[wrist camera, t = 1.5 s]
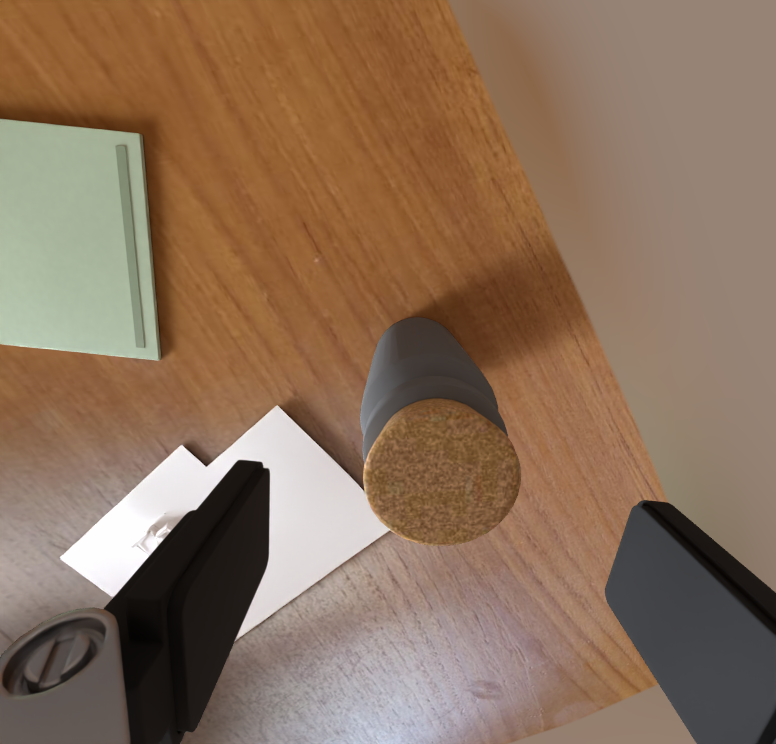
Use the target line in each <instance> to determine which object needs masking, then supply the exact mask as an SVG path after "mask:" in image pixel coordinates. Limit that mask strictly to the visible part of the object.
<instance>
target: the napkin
mask: <svg viewBox="0 0 776 744" xmlns="http://www.w3.org/2000/svg"><path fill="white" fill-rule="evenodd" d="M0 344H5V345H15V346H24V347H34V348H44V349H53V350H63V351H73V352H82V353H92V354H102V355H111V356H121V357H131V358H140V359H150V360H161V350H160V338H159V326H158V314H157V302H156V290H155V278H154V266H153V254H152V242H151V230H150V218H149V206H148V194H147V182H146V170H145V158H144V146H143V135H141V134H139V133H131V132H121V131H112V130H102V129H93V128H83V127H73V126H64V125H54V124H45V123H35V122H26V121H16V120H7V119H0Z"/></svg>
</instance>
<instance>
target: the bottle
mask: <svg viewBox="0 0 776 744" xmlns="http://www.w3.org/2000/svg"><path fill="white" fill-rule="evenodd" d="M360 421H361V429H362V433H363V436H364V439H363V459H364V463H365V466H364V472H363V481H364V491H365V494H366V497H367V500H368V503H369V505H370V507H371V509H372V511H373V512H374V514H375V515H376V516H377V518H378V519H379V520H380V522H382V523H383V524H384V525H385V526H386V527H387V528H389V529H390V530H391V531H392V532H394V533H395V534H397V535H399V536H401V537H402V538H405V539H407V540H409V541H412V542H416V543H419V544H424V545H430V546H450V545H456V544H462V543H465V542H469V541H471V540H474V539H476V538H478V537H480V536H482V535H484V534H486V533H488V532H489V531H490V530H492V529H493V528H494V527H496V526H497V525H498V524H499V523H500V522H501V521H502V520H503V519H504V518H505V517H506V516H507V514H508V513H509V511H510V510H511V508H512V507H513V505H514V503H515V500H516V498H517V496H518V492H519V487H520V482H521V469H520V463H519V459H518V456H517V454H516V451H515V449H514V447H513V445H512V443H511V441H510V440H509V438H508V434H507V430H506V427H505V424H504V422H503V420H502V418H501V416H500V414H499V412H498V405H497V401H496V398H495V395H494V392H493V390H492V388H491V386H490V384H489V383H488V381H487V379H486V378H485V377H484V375H483V374H482V372H481V371H480V369H479V368H478V367H477V366H476V364H475V363H474V362H473V360H472V359H471V358H470V357H469V355H468V354H467V353H466V352H465V350H464V349H463V348H462V346H461V345H460V344H459V343H458V341H457V340H456V339H455V338H454V337H453V335H452V334H451V333H450V332H449V331H448V330H447V329H446V328H445V327H444V326H442V325H441V324H439V323H438V322H436V321H433V320H431V319H427V318H420V317H416V318H407V319H404V320H401V321H399V322H397V323H395V324H394V325H392V326H391V327H390V328H389V329H388V330H387V331H386V332H385V333H384V334H383V335H382V337H381V338H380V340H379V342H378V344H377V347H376V350H375V354H374V357H373V360H372V364H371V368H370V372H369V376H368V380H367V384H366V387H365V391H364V396H363V401H362V406H361V413H360Z"/></svg>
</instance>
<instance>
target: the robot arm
mask: <svg viewBox="0 0 776 744" xmlns="http://www.w3.org/2000/svg"><path fill="white" fill-rule="evenodd" d="M269 518H270V470H269V468H264V467H263V463H262V462H259V461H249V460H238V461H237V462H236V463H235V464H234V465H233V466H232V468H231V469H230V470H229V471H228V472H227V474H226V475H225V476H224V477H223V478H222V479H221V481H220V482H219V483H218V484H217V485H216V487H215V488H214V489H213V490H212V491H211V493H210V494H209V495H208V496H207V497H206V499H205V500H204V501H203V502H202V503H201V505H200V506H199V507H198V508H197V509H196V510H192V511H189V512H188V513H187V514H186V515H184V516H183V518H182V519H181V520H180V521H179V522H178V523H177V525H176V526H175V527H174V528H173V529H172V530H171V532H170V533H169V534H168V535H167V536H166V537H165V538H164V540H163V541H162V542H161V543H160V544H159V545H158V547H157V548H156V549H155V550H154V551H153V552H152V553H151V555H150V556H149V557H148V558H147V559H146V560H145V562H144V563H143V564H142V565H141V566H140V567H139V569H138V570H137V571H136V572H135V573H134V574H133V575H132V577H131V578H130V579H129V580H128V581H127V582H126V584H125V585H124V586H123V587H122V588H121V589H120V590H119V592H118V593H117V594H116V595H115V596H114V597H113V599H112V600H111V601H110V602H109V603H108V604H107V606H106V607H105V608H104V609H99V608H83V609H76V610H73V611H69V612H66V613H63V614H59V615H57V616H55V617H53V618H51V619H49V620H47V621H45V622H42V623H40V624H39V625H37V626H36V627H34V628H33V629H31V630H30V631H28V632H27V633H25V634H24V635H22V636H21V637H20V638H19V639H18V640H16V641H15V642H14V643H13V644H12V645H11V646H10V647H9V648H8V649H6V650H5V651H4V653H3V654H2V655H1V657H0V744H180V743H181V741H182V739H183V736H184V734H185V732H193V731H194V730H195V729H196V728H197V726H198V724H199V722H200V720H201V718H202V715H203V713H204V711H205V708H206V706H207V704H208V702H209V699H210V697H211V695H212V692H213V690H214V688H215V685H216V683H217V681H218V679H219V676H220V674H221V672H222V669H223V667H224V665H225V662H226V660H227V658H228V656H229V653H230V651H231V649H232V646H233V644H234V642H235V640H236V637H237V635H238V633H239V630H240V628H241V626H242V623H243V621H244V619H245V617H246V614H247V612H248V610H249V607H250V605H251V603H252V600H253V598H254V596H255V594H256V591H257V589H258V587H259V584H260V582H261V580H262V578H263V575H264V573H265V570H266V568H267V564H268V559H269ZM605 596H606V600H607V603H608V604H609V606H610V608H611V609H612V611H613V613H614V614H615V616H616V617H617V619H618V620H619V622H620V624H621V625H622V627H623V628H624V630H625V631H626V633H627V635H628V636H629V638H630V639H631V641H632V642H633V644H634V646H635V647H636V649H637V650H638V652H639V653H640V655H641V657H642V658H643V660H644V661H645V663H646V664H647V666H648V668H649V669H650V671H651V672H652V674H653V675H654V677H655V679H656V680H657V682H658V683H659V685H660V687H661V688H662V690H663V691H664V693H665V694H666V696H667V697H668V699H669V701H670V702H671V704H672V705H673V707H674V709H675V710H676V711H677V713H678V715H679V716H680V718H681V719H682V721H683V723H684V724H685V726H686V727H687V729H688V730H689V732H690V734H691V735H692V737H693V738H694V740H695V741H696V743H697V744H776V593H775V592H774V591H773V590H772V589H771V588H769V587H768V586H767V585H766V584H765V583H764V582H762V581H761V580H760V579H759V578H758V577H756V576H755V575H754V574H753V573H752V572H751V571H749V570H748V569H747V568H746V567H745V566H743V565H742V564H741V563H740V562H739V561H738V560H736V559H735V558H734V557H733V556H731V554H729V553H728V552H727V551H726V550H725V549H723V548H722V547H721V546H720V545H719V544H717V543H716V542H715V541H714V540H713V539H712V538H711V537H709V536H708V535H707V534H706V533H704V532H703V531H702V530H701V529H700V528H699V527H698V526H696V525H695V524H694V523H693V522H692V521H690V520H689V519H688V518H687V517H686V516H685V515H683V514H682V513H681V512H680V511H679V510H678V509H676V508H675V507H674V506H673V505H671V504H670V503H666V502H657V501H647V500H643V501H640V502H639V503H638V505H636V506H634V507H633V508H632V510H631V512H630V515H629V518H628V521H627V524H626V527H625V530H624V533H623V536H622V539H621V542H620V545H619V548H618V551H617V554H616V557H615V560H614V563H613V566H612V569H611V572H610V575H609V578H608V581H607V584H606V588H605Z"/></svg>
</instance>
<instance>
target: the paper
mask: <svg viewBox="0 0 776 744" xmlns="http://www.w3.org/2000/svg"><path fill="white" fill-rule="evenodd" d="M238 460H249V461H259V462H262V463H263V467H264V468H269V470H270V518H269V559H268V564H267V568H266V570H265V573H264V575H263V578H262V580H261V582H260V584H259V587H258V589H257V591H256V594H255V596H254V598H253V600H252V603H251V605H250V607H249V610H248V612H247V614H246V617H245V619H244V621H243V623H242V626H241V628H240V630H239V633H238V635H237V637H236V640H237V639H238V638H240V637H241V636H242V635H244V634H245V633H247V632H248V631H249V630H251V629H252V628H253V627H255V626H256V625H258V624H259V623H260V622H262V621H263V620H265V619H266V618H267V617H269V616H270V615H271V614H273V613H274V612H276V611H277V610H278V609H280V608H281V607H283V606H284V605H285V604H287V603H288V602H289V601H291V600H292V599H294V598H295V597H296V596H298V595H299V594H301V593H302V592H303V591H305V590H306V589H308V588H309V587H310V586H312V585H313V584H315V583H316V582H317V581H319V580H320V579H322V578H323V577H324V576H326V575H327V574H328V573H330V572H331V571H333V570H334V569H335V568H337V567H338V566H340V565H341V564H342V563H344V562H345V561H347V560H348V559H349V558H351V557H352V556H354V555H355V554H356V553H358V552H359V551H361V550H362V549H364V548H365V547H366V546H368V545H369V544H371V543H372V542H373V541H375V540H376V539H378V538H379V537H381V536H382V535H383V534H385V533H386V532H388V531H389V530H390V529H389V528H387V527H386V526H385V525H384V524H383V523H382V522H380V520H379V519H378V518H377V516H376V515H375V514H374V512H373V511H372V509H371V507H370V505H369V503H368V500H367V497H366V494H365V492H364V491H363V489H362V488H361V487H360V486H359V485H358V484H357V483H356V482H355V481H354V480H353V479H352V478H351V477H350V476H349V475H348V474H347V473H346V472H345V471H344V470H343V469H342V468H341V467H340V466H339V465H338V464H337V463H336V462H335V461H334V460H333V459H332V458H331V457H330V456H329V455H328V454H327V453H326V452H325V451H324V450H323V449H322V448H321V447H320V446H319V445H318V444H317V443H316V442H314V441H313V440H312V439H311V438H310V437H309V436H308V435H307V434H306V433H305V432H304V431H303V430H302V429H301V428H300V427H299V426H298V425H297V424H296V423H295V422H294V421H293V420H292V419H291V418H290V417H289V416H288V415H287V414H286V413H285V412H284V411H283V410H282V409H281V408H280V407H278V406H277V405H276V406H275V407H274V408H273V409H272V410H271V411H270V412H269V413H267V414H266V415H265V416H264V417H263V418H262V419H261V420H260V421H259V422H257V423H256V424H255V425H254V426H253V427H252V428H251V429H250V430H248V431H247V432H246V433H245V434H244V435H243V436H242V437H240V438H239V439H238V440H237V441H236V442H235V443H234V444H232V445H231V446H230V447H229V448H228V449H227V450H226V451H224V452H223V453H222V454H221V455H220V456H219V457H217V458H216V459H215V460H214V461H213V462H212V463H210V464H209V465H208V466H207V467H206V466H205V465H204V464H203V463H201V462H200V461H199V460H198V459H197V458H196V457H195V456H194V455H192V454H191V453H190V452H189V451H188V450H187V449H186V448H184V447H183V446H182V445H181V446H179V447H178V448H177V449H176V450H175V451H174V452H173V453H172V454H171V455H170V456H169V457H167V458H166V459H165V460H164V461H163V462H162V463H161V464H160V465H159V466H158V467H157V468H156V469H155V470H153V471H152V472H151V473H150V474H149V475H148V476H147V477H146V478H145V479H144V480H143V481H142V482H141V483H140V484H139V485H138V486H137V487H136V488H134V489H133V490H132V491H131V492H130V493H129V494H128V495H127V496H126V497H125V498H124V499H123V500H122V501H121V502H120V503H119V504H117V505H116V506H115V507H114V508H113V509H112V510H111V511H110V512H109V513H107V514H106V515H105V516H104V517H103V518H102V519H101V520H100V521H99V522H98V523H96V524H95V525H94V526H93V527H92V528H91V529H90V530H89V531H88V532H87V533H86V534H85V535H84V536H83V537H82V538H80V539H79V540H78V541H77V542H76V543H75V544H74V545H73V546H72V547H71V548H70V549H69V550H68V551H67V552H65V553H64V554H63V555H62V556H61V557H60V558H59V559H61V560H62V561H64V562H65V563H67V564H68V565H69V566H71V567H72V568H73V569H75V570H76V571H77V572H79V573H80V574H81V575H83V576H84V577H85V578H87V579H88V580H89V581H91V582H92V583H94V584H95V585H96V586H98V587H99V588H100V589H102V590H103V591H104V592H106V593H107V594H108V595H110V596H111V597H112V598H113V597H114V596H115V595H116V594H117V593H118V592H119V590H120V589H121V588H122V587H123V586H124V585H125V584H126V582H127V581H128V580H129V579H130V578H131V577H132V575H133V574H134V573H135V572H136V571H137V570H138V569H139V567H140V566H141V565H142V564H143V563H144V562H145V560H146V559H147V558H148V557H149V556H150V555H151V553H152V552H153V551H154V550H155V549H156V548H157V547H158V545H159V544H160V543H161V542H162V541H163V540H164V538H165V537H166V536H167V535H168V534H169V533H170V532H171V530H172V529H173V528H174V527H175V526H176V525H177V523H178V522H179V521H180V520H181V519H182V518H183V516H184V515H186V514H187V513H188V512H189V511H192V510H196V509H197V508H198V507H199V506H200V505H201V503H202V502H203V501H204V500H205V499H206V497H207V496H208V495H209V494H210V493H211V491H212V490H213V489H214V488H215V487H216V485H217V484H218V483H219V482H220V481H221V479H222V478H223V477H224V476H225V475H226V474H227V472H228V471H229V470H230V469H231V468H232V466H233V465H234V464H235V463H236V462H237V461H238Z"/></svg>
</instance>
